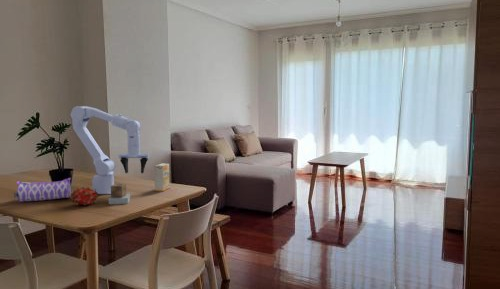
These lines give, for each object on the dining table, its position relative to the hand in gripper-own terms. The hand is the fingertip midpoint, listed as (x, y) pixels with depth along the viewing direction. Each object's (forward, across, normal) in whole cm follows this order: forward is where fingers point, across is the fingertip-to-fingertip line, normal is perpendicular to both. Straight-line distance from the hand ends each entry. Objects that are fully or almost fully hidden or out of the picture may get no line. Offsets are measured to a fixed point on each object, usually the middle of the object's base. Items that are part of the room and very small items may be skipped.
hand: (134, 172), depth 181 cm
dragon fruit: (+10, -15, -22) cm, 28 cm away
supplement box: (+10, +12, +7) cm, 17 cm away
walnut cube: (+7, -2, -17) cm, 18 cm away
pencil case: (+10, -37, -14) cm, 41 cm away
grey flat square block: (+10, -2, -17) cm, 20 cm away
